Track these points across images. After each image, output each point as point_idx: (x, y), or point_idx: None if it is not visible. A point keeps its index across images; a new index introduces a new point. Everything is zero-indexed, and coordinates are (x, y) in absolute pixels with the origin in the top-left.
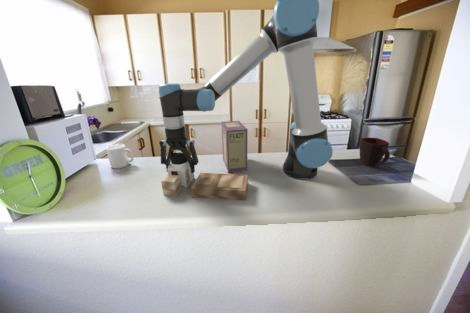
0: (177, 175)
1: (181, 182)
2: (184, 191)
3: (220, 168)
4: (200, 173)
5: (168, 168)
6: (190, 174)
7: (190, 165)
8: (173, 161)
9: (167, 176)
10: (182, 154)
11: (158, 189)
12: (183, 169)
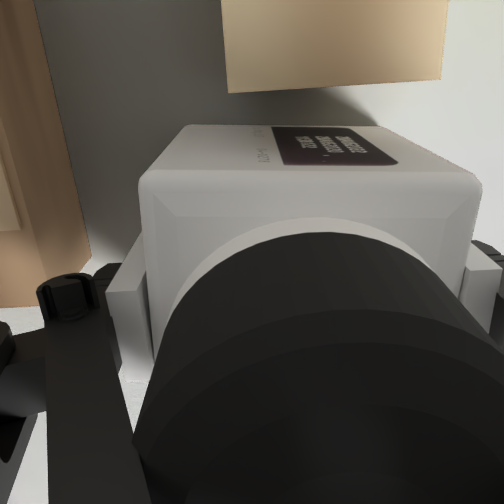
0: (252, 85)
1: (239, 130)
2: (165, 22)
3: (31, 476)
4: None
5: (463, 186)
6: (142, 237)
7: (85, 309)
8: (394, 267)
9: (411, 24)
10: (199, 500)
11: (486, 12)
12: (168, 190)
